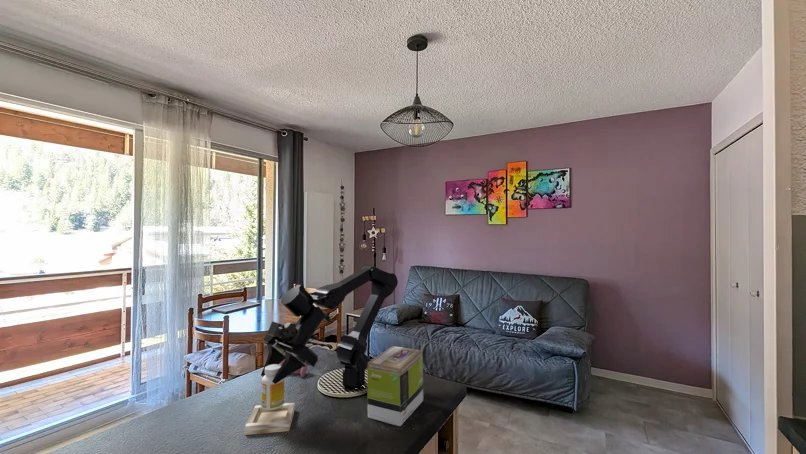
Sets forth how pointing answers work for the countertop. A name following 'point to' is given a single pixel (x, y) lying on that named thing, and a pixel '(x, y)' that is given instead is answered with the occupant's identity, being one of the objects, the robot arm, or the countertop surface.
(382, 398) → the tea box
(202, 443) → the countertop surface
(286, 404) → the recess plate
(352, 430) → the countertop surface
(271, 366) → the supplement bottle
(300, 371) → the pink legged piece
